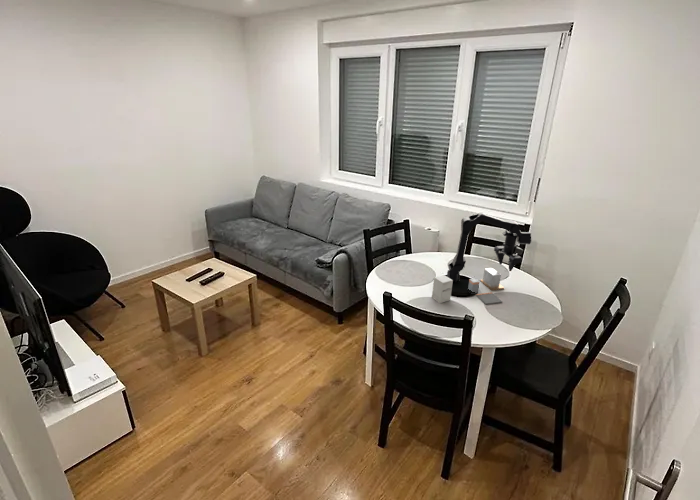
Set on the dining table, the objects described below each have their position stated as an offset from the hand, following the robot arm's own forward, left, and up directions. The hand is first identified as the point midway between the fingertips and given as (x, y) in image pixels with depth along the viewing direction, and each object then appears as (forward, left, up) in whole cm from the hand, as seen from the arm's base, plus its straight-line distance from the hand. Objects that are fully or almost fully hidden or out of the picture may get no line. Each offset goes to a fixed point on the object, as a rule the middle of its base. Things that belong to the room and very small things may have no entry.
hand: (505, 267), depth 223 cm
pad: (-18, -14, -11) cm, 25 cm away
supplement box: (-44, -8, -11) cm, 46 cm away
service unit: (-7, 0, -11) cm, 13 cm away
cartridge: (-22, -4, -11) cm, 25 cm away
